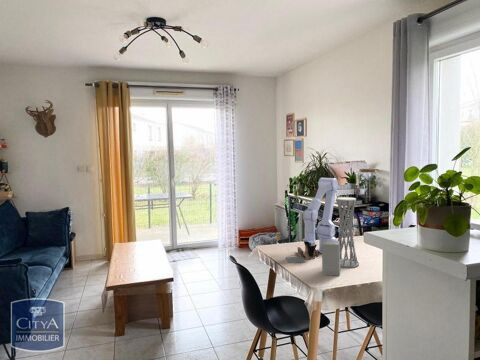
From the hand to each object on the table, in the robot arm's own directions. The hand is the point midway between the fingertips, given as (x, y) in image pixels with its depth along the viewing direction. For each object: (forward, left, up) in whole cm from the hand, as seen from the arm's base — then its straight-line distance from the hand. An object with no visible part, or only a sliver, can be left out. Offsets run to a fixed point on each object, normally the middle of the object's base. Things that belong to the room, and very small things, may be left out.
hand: (309, 255), depth 199 cm
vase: (-16, +13, -2) cm, 21 cm away
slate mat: (+9, +4, -1) cm, 10 cm away
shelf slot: (0, -6, -1) cm, 6 cm away
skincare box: (-4, +27, -2) cm, 27 cm away
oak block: (0, 0, -1) cm, 1 cm away
